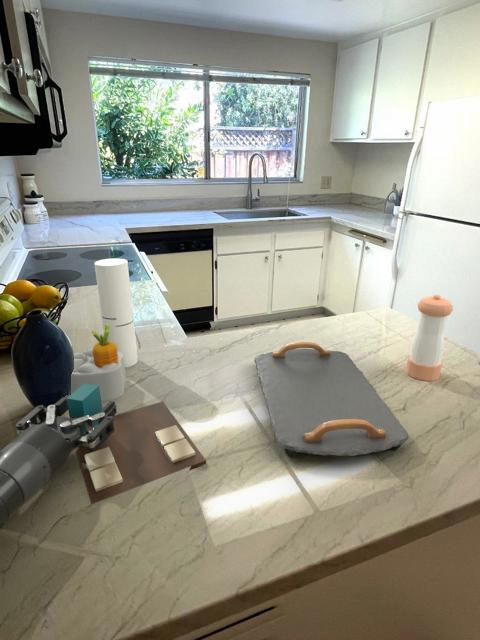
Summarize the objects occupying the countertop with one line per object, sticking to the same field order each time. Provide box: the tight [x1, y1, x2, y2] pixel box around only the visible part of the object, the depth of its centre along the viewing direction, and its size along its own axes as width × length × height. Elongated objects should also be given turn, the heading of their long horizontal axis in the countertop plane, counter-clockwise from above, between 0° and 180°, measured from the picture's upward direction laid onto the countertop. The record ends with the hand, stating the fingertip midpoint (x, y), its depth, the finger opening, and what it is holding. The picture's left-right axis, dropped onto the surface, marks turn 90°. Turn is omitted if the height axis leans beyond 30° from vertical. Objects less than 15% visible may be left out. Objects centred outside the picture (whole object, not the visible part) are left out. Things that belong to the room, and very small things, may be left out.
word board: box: [74, 400, 207, 505], centre depth 69 cm, size 18×20×1 cm
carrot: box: [91, 325, 118, 368], centre depth 83 cm, size 5×5×15 cm
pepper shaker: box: [405, 294, 454, 382], centre depth 90 cm, size 7×7×19 cm
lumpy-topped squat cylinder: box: [71, 346, 127, 402], centre depth 84 cm, size 10×13×9 cm
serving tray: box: [254, 341, 410, 458], centre depth 82 cm, size 39×23×6 cm, turn 5°
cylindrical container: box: [93, 257, 139, 369], centre depth 95 cm, size 7×7×25 cm
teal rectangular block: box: [66, 383, 103, 433], centre depth 70 cm, size 3×5×9 cm, turn 166°
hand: (92, 402), depth 71 cm, fingers open, 8 cm apart
